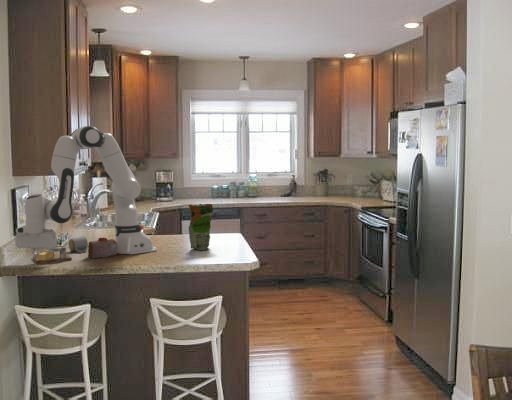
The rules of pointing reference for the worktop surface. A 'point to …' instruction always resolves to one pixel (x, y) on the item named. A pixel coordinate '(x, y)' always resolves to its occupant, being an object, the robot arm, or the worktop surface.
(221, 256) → the worktop surface
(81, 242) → the ceramic mug
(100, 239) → the small brown suitcase
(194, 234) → the pouch
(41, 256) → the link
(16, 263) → the worktop surface
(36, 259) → the base
